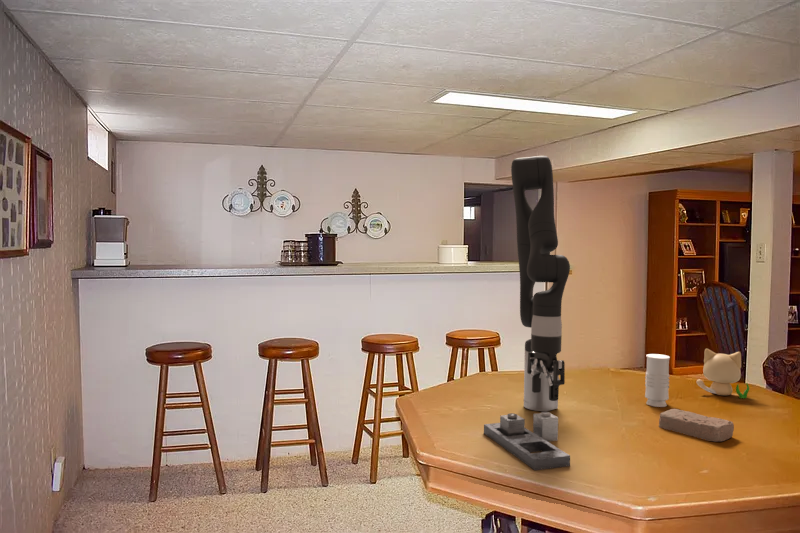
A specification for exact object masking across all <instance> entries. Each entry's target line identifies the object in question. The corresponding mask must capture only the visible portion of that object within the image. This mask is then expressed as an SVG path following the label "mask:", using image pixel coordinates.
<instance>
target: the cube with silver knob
mask: <svg viewBox="0 0 800 533" xmlns="http://www.w3.org/2000/svg"><path fill="white" fill-rule="evenodd" d="M532 418H533V419H532V420H533V422H532V423H533V424H532V426H533V427H532V432H533V433H534V434H536V435H538V436H539V437H541V438H543V439H544V440H546V441H547V442H549V443H550V442H558V441H559V438H558V436H559V417H558V416H556V415H554V414H552V413H551V412H550V411H540V412H539V413H538V412H537V413H533V415H532Z"/></svg>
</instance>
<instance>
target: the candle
mask: <svg viewBox="0 0 800 533" xmlns="http://www.w3.org/2000/svg"><path fill="white" fill-rule="evenodd" d="M645 355H646V356H645V357H646V371H645V377H644V378H645V381H644V382H645V384H644V386H645V394H644V398H646V399H647V400H646V405H649V406H651V407H656V408H657V407H658V408H659V407H660V408H665V407H667V406H668V405H667V402H666V401H668V400H669V399H670V398H669V389H670V376H671V375H670V374H669V370H670V366H669V364H670V359H671V356H669V355H666V354H659V353H648V354H645Z"/></svg>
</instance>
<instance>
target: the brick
mask: <svg viewBox="0 0 800 533" xmlns="http://www.w3.org/2000/svg"><path fill="white" fill-rule="evenodd" d="M658 427H659V428H661V429H664V430H668V431H671V430H672V432H675V433H678V432H679V434H682V433H683V435H685V436H691V437H694V438H696V437H697V439H700V438H701V439H702V440H704V439H705V440H704V441H708V442H715V443H717V442H724V441H727V440H729V439H730V438H732V437H733V434H734V430H735V424H734V422H733V421H731V420H728V419H724V418H723V419H722V418H718V417H714V416H713V417H712V416H707V415H703V414H699V413H696V412H693V411H688V410H687V411H686V410H684V409H683V410H682V409H679V408H671V409H668V410H666V411H662V412H660V413H659V420H658Z"/></svg>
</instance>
